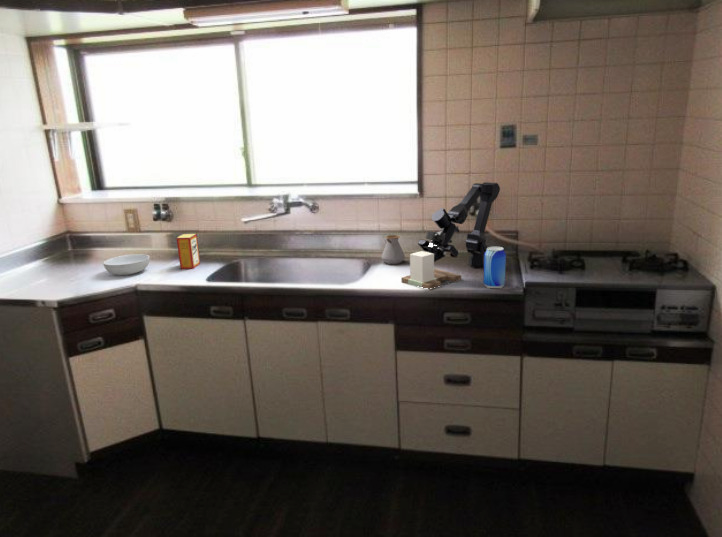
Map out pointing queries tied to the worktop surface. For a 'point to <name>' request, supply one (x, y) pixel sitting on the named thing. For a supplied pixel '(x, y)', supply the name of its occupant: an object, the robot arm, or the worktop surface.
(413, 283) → the green pad
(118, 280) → the worktop surface
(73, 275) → the worktop surface
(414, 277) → the cream block
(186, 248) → the baking soda box
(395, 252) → the coffee pot
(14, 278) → the worktop surface
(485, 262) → the beer can
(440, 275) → the walnut trap board
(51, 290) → the worktop surface
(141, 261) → the serving bowl
